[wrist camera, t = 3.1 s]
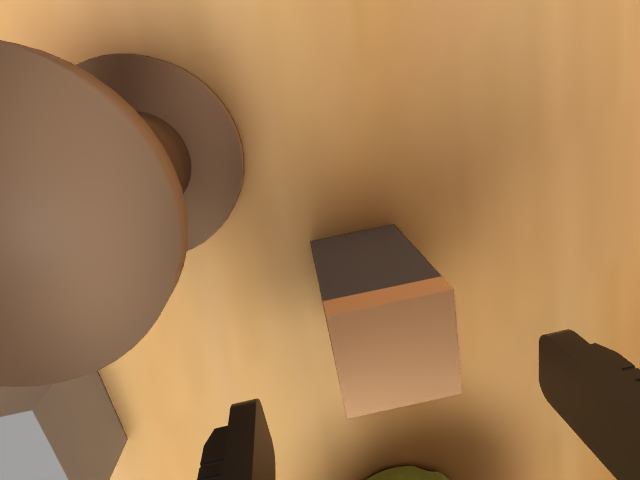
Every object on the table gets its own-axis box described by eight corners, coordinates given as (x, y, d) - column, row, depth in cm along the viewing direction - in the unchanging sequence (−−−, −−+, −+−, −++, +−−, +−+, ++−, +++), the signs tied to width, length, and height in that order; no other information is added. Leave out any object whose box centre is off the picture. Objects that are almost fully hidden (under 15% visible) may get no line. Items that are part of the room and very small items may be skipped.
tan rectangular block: (394, 224, 19) (453, 289, 13) (403, 299, 21) (462, 393, 14) (310, 241, 19) (325, 316, 13) (325, 315, 21) (347, 419, 14)
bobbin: (216, 38, 16) (125, -47, 7) (262, 230, 19) (245, 363, 9) (10, 77, 16) (-384, 46, 6) (87, 266, 19) (-112, 439, 9)
